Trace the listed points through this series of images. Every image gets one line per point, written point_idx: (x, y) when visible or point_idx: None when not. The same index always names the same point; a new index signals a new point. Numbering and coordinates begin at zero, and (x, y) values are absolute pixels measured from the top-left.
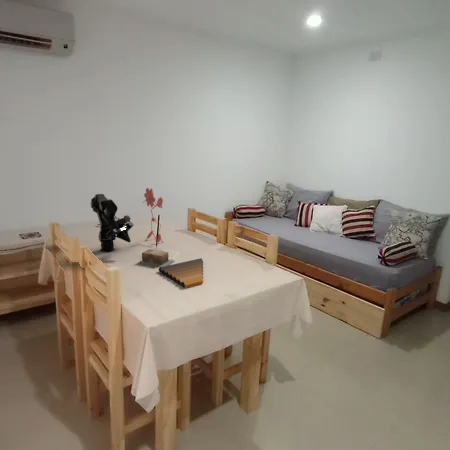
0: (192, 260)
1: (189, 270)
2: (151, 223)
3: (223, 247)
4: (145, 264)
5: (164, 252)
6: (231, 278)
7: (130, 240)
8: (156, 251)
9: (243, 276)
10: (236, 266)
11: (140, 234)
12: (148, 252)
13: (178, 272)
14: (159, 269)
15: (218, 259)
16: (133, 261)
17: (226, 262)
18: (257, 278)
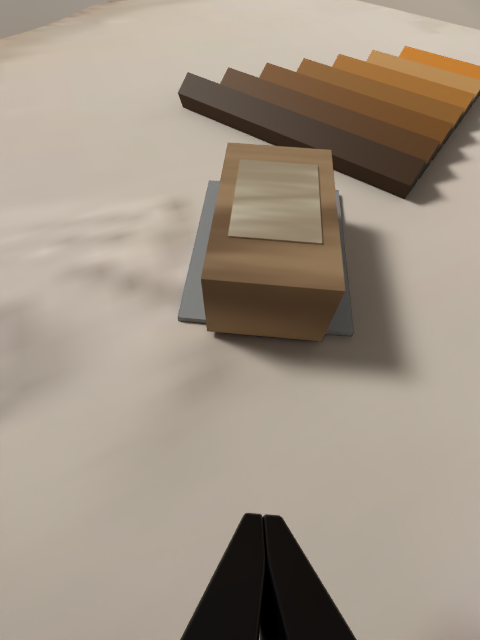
0: (234, 90)
1: (366, 79)
2: None
3: None
4: (348, 302)
5: (242, 158)
6: (307, 34)
7: (245, 521)
8: (248, 202)
9: (274, 20)
10: (188, 35)
11: None
12: (302, 246)
13: (423, 95)
14: (413, 182)
15: (120, 72)
16: (336, 427)
17: (152, 53)
18: (272, 5)
